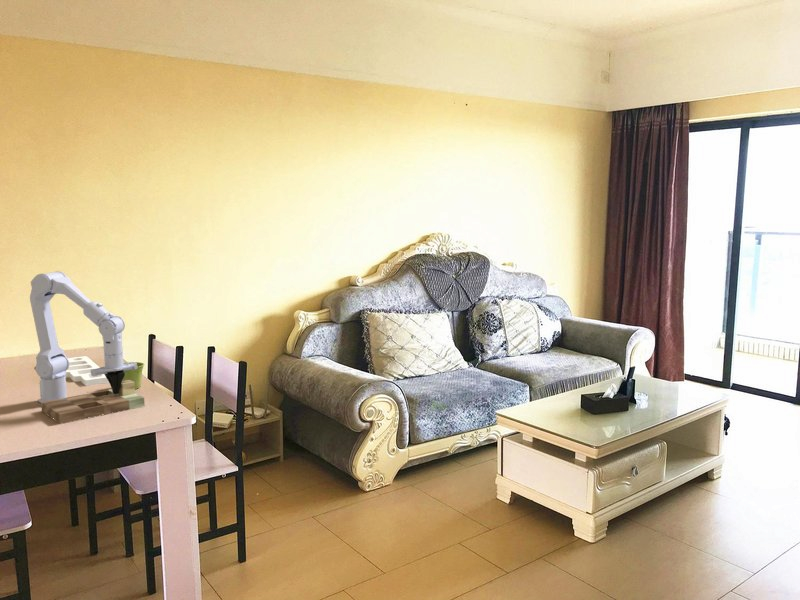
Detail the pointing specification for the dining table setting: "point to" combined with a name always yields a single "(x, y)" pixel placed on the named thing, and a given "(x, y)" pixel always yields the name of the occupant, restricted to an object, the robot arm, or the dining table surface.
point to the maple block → (127, 387)
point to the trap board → (90, 405)
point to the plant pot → (134, 374)
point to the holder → (84, 371)
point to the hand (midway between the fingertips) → (115, 393)
